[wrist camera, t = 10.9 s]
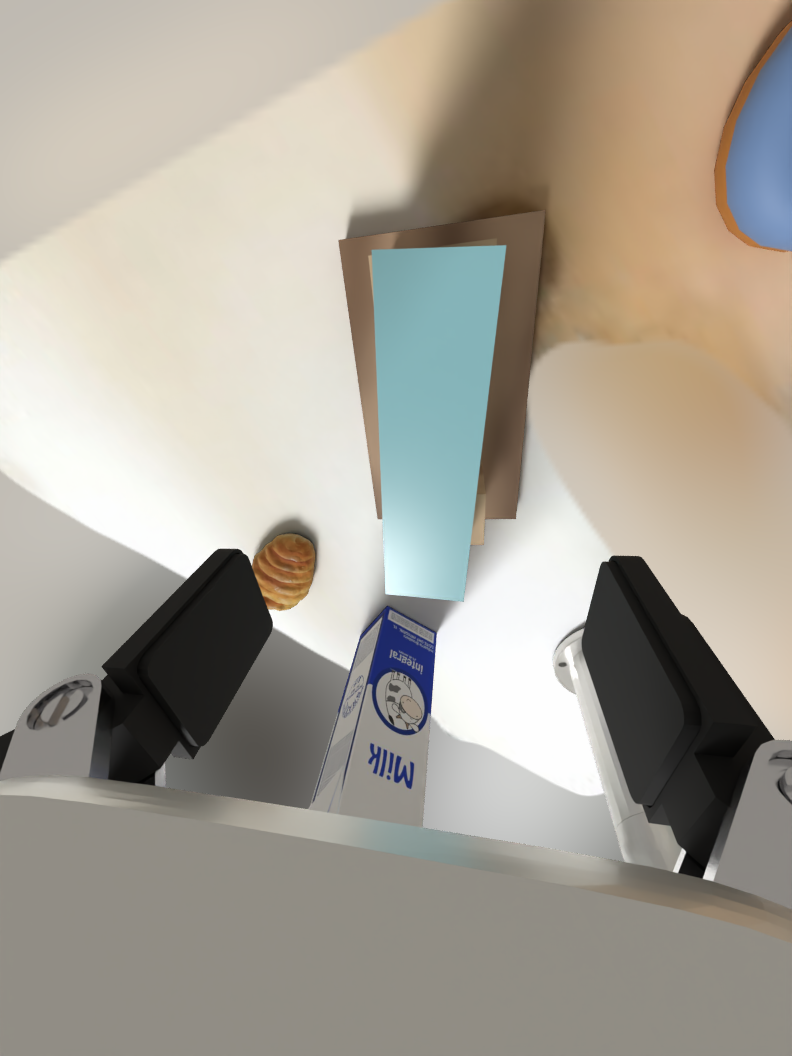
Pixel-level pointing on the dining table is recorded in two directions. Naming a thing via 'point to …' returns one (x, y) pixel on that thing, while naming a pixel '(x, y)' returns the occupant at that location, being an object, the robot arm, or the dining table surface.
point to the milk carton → (382, 726)
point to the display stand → (508, 356)
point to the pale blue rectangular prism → (432, 407)
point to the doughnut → (760, 154)
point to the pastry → (285, 570)
